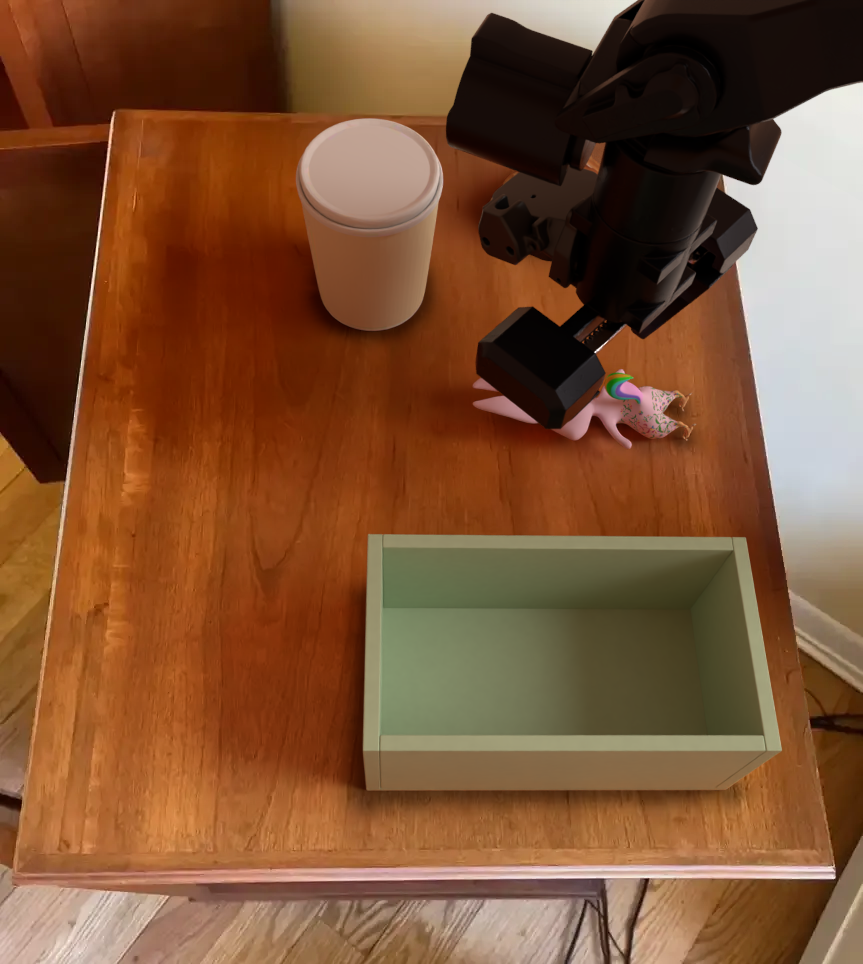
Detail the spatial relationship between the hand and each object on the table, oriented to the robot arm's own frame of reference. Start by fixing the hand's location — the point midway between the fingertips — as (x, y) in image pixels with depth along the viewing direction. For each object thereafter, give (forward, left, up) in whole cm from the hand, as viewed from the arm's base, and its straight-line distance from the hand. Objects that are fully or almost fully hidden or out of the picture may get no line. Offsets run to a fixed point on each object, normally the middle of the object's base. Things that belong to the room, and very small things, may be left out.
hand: (594, 375), depth 65 cm
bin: (-10, +16, -5) cm, 20 cm away
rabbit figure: (0, 0, -6) cm, 6 cm away
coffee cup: (+18, +2, -6) cm, 19 cm away
